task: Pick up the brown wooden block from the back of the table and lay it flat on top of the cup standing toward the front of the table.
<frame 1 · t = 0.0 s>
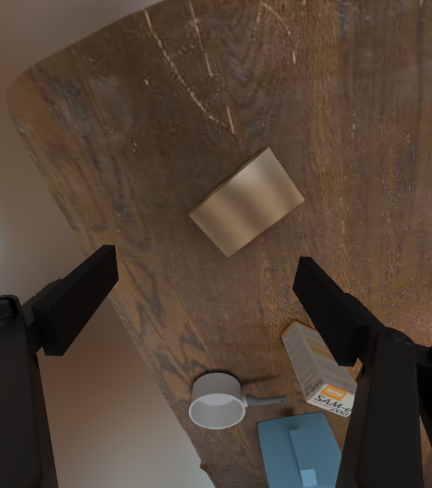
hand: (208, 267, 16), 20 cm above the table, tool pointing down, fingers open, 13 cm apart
container: (292, 433, 58), on the table
brown wooden block: (243, 203, 34), on the table
saucepan: (234, 381, 50), on the table
supplement box: (302, 333, 45), on the table
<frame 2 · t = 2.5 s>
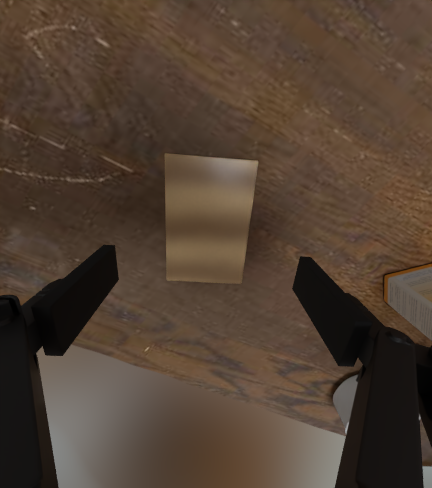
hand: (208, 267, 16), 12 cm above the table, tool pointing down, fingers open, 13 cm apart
brown wooden block: (208, 219, 26), on the table
saucepan: (377, 373, 38), on the table
supplement box: (411, 280, 31), on the table
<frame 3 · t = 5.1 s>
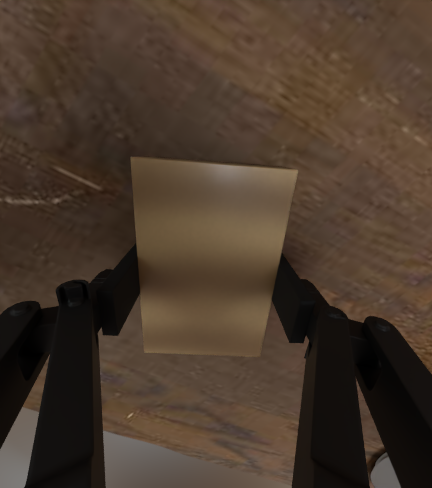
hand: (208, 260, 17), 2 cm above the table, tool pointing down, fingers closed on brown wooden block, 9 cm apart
brown wooden block: (208, 257, 17), point 1 cm above the table, touching gripper
saucepan: (428, 444, 29), on the table
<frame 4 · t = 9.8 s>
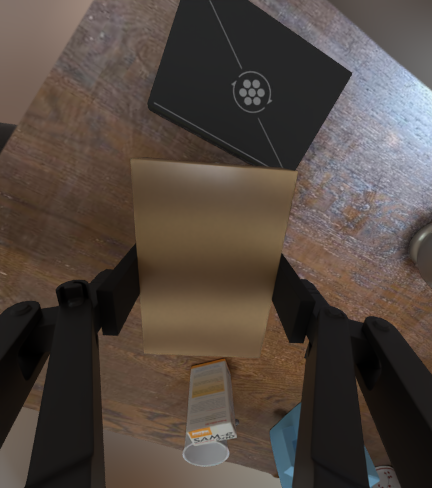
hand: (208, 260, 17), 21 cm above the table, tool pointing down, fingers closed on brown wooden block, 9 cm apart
vase: (379, 471, 71), on the table
container: (309, 422, 60), on the table
brown wooden block: (208, 258, 17), point 20 cm above the table, touching gripper
saucepan: (214, 418, 58), on the table
supplement box: (211, 367, 51), on the table
book: (244, 96, 31), on the table
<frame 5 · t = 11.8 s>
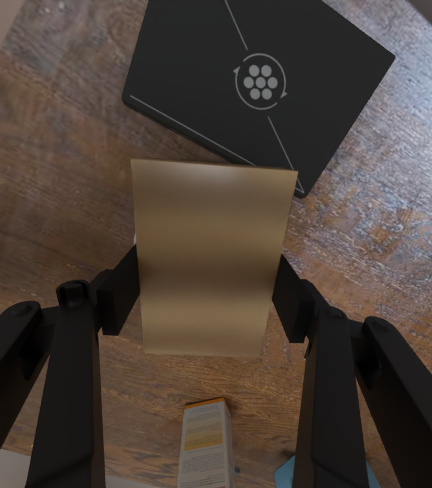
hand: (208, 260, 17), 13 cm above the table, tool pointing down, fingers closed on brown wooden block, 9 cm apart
container: (319, 463, 53), on the table
brown wooden block: (208, 257, 17), point 13 cm above the table, touching gripper
supplement box: (208, 406, 44), on the table
book: (249, 89, 24), on the table
when the fingers open (13 cm above the table, at t = 14.6 s): brown wooden block stays where it is, resting on cup.
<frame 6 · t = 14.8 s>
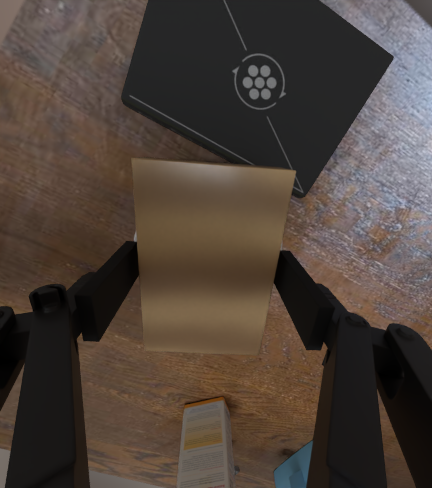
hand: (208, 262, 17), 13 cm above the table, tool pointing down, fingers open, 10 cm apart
container: (318, 462, 53), on the table
brown wooden block: (208, 256, 17), point 12 cm above the table, touching cup
supplement box: (207, 405, 44), on the table
book: (248, 89, 24), on the table
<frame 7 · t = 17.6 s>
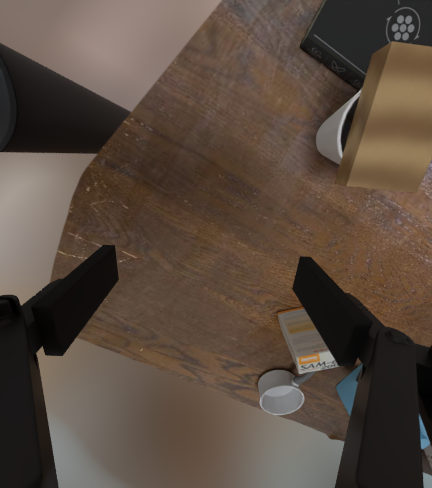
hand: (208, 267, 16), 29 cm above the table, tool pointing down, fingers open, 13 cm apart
vase: (431, 437, 73), on the table
container: (374, 379, 62), on the table
brown wooden block: (386, 128, 27), point 12 cm above the table, touching cup
saucepan: (285, 370, 61), on the table
supplement box: (294, 315, 54), on the table
cup: (334, 137, 39), on the table, touching brown wooden block
book: (383, 37, 34), on the table
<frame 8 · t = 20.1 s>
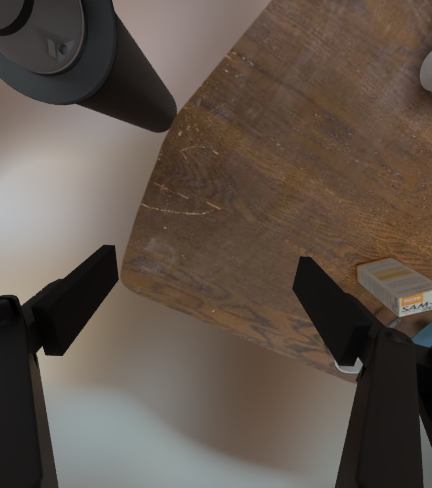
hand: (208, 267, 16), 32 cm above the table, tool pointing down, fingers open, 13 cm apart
saucepan: (355, 329, 60), on the table
supplement box: (372, 268, 53), on the table
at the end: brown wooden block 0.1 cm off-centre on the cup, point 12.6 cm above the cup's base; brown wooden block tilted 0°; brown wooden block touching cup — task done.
